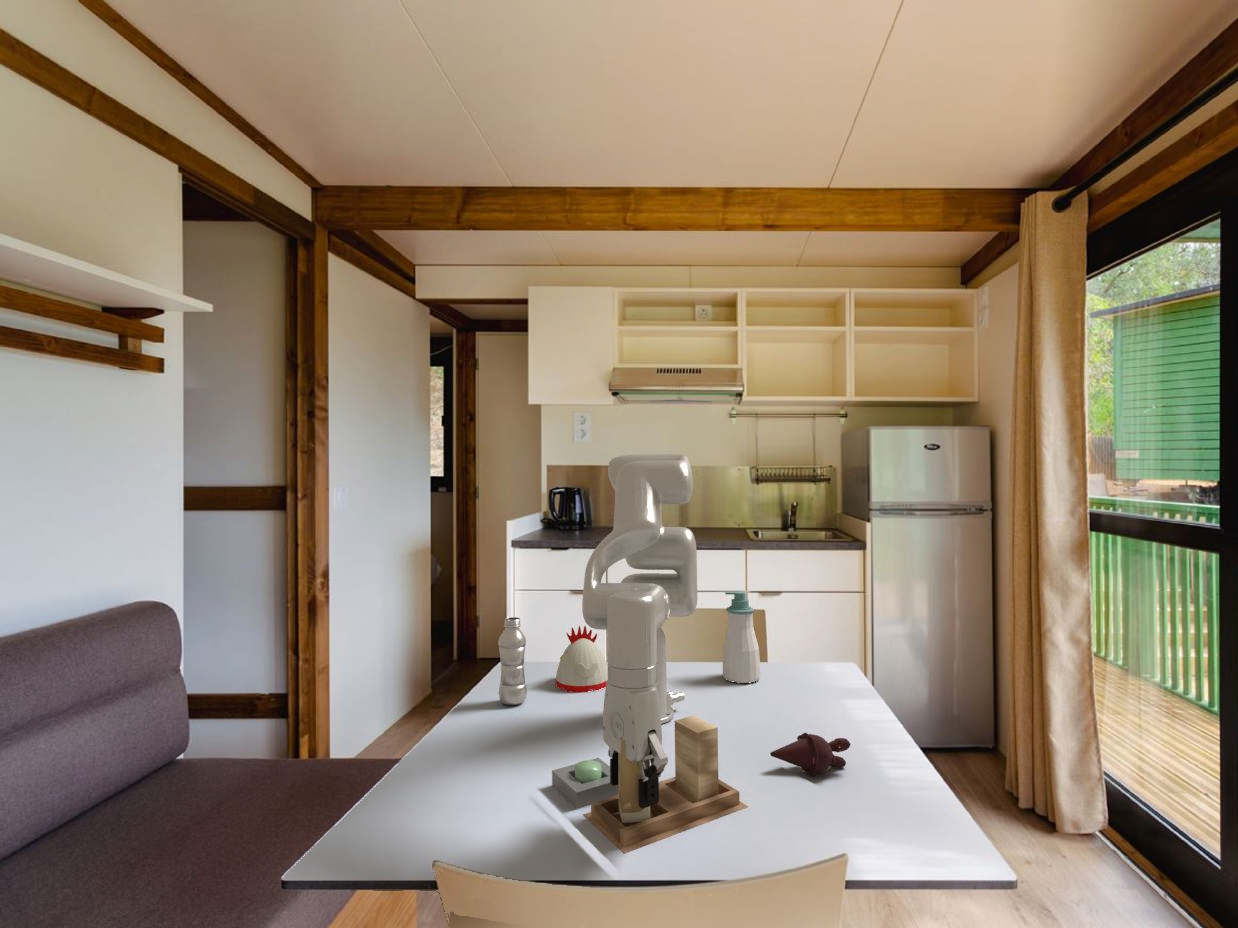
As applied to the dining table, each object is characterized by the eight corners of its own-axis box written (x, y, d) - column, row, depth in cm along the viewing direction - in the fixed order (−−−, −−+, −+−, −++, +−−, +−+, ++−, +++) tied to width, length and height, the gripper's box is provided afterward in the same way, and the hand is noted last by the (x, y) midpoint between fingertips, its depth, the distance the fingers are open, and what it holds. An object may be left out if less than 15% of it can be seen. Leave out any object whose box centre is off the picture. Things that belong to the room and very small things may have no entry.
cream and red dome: (552, 678, 167) (552, 622, 168) (602, 673, 170) (602, 618, 171) (560, 694, 153) (560, 633, 154) (614, 689, 157) (613, 630, 157)
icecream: (782, 750, 105) (862, 749, 108) (765, 723, 112) (841, 723, 115) (775, 785, 106) (854, 784, 109) (759, 757, 113) (833, 756, 116)
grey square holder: (598, 777, 109) (598, 757, 109) (625, 799, 102) (625, 777, 102) (552, 791, 105) (552, 770, 105) (576, 815, 97) (576, 792, 97)
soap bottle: (721, 672, 170) (720, 589, 170) (758, 673, 169) (756, 589, 169) (724, 684, 160) (722, 595, 161) (762, 685, 159) (760, 595, 160)
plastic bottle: (521, 708, 144) (521, 622, 144) (494, 707, 145) (493, 621, 146) (530, 699, 150) (530, 616, 151) (504, 697, 151) (504, 615, 152)
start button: (593, 778, 106) (593, 757, 106) (606, 789, 102) (606, 767, 103) (570, 785, 104) (570, 764, 104) (582, 796, 100) (582, 774, 100)
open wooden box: (700, 782, 107) (699, 764, 107) (748, 812, 97) (748, 793, 97) (582, 820, 95) (582, 801, 95) (624, 860, 85) (624, 838, 85)
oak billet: (695, 788, 103) (693, 715, 103) (718, 804, 98) (717, 727, 98) (675, 795, 101) (674, 720, 101) (698, 811, 96) (697, 732, 96)
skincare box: (617, 802, 96) (616, 722, 97) (645, 800, 96) (644, 721, 97) (621, 824, 90) (620, 739, 90) (651, 823, 90) (650, 737, 91)
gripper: (583, 664, 99) (584, 777, 99) (643, 695, 84) (645, 827, 84) (623, 657, 103) (624, 765, 103) (687, 685, 88) (689, 812, 88)
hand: (633, 792), depth 93 cm, fingers closed on skincare box, 7 cm apart
